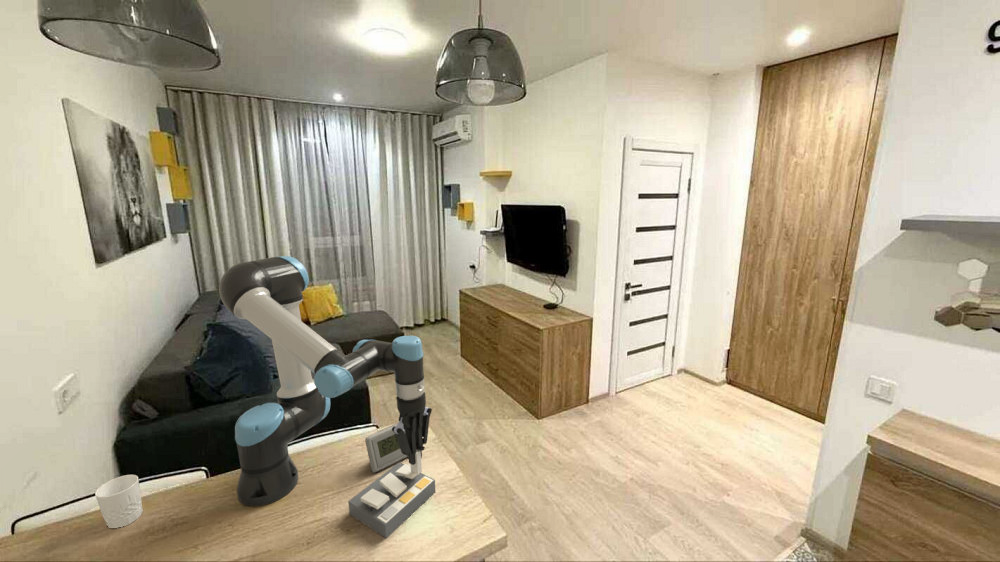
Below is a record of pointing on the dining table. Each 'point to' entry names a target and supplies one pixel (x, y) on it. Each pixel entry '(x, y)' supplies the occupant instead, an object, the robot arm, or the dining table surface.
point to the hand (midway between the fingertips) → (416, 471)
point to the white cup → (120, 501)
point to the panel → (392, 502)
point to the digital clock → (383, 449)
